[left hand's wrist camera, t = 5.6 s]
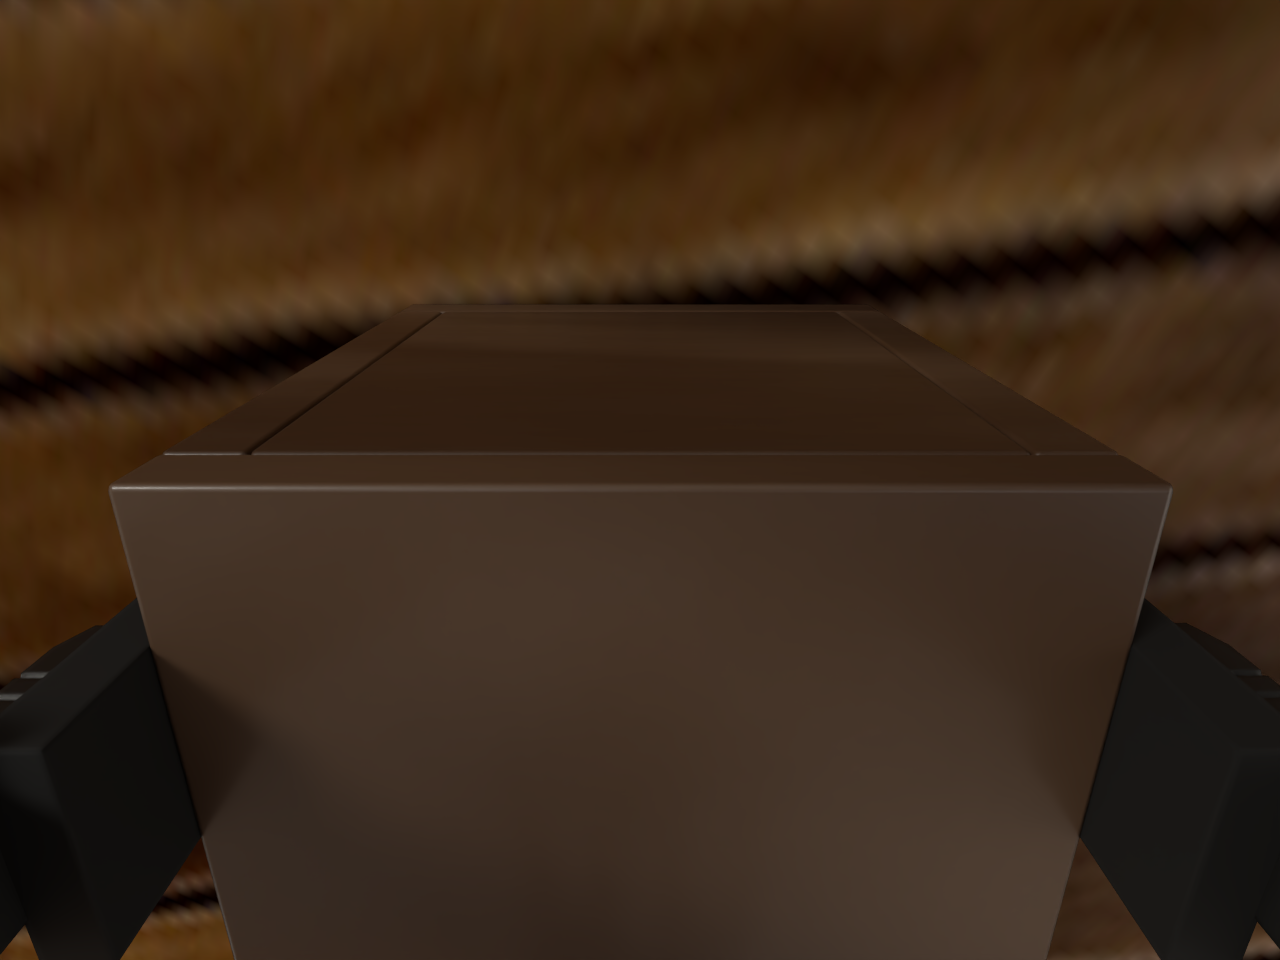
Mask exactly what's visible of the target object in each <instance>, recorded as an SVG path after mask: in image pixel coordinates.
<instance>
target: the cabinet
mask: <svg viewBox="0 0 1280 960" xmlns="http://www.w3.org/2000/svg"><path fill="white" fill-rule="evenodd" d="M1172 494H1173V489H1172V486H1171V484H1170V483H1168V482H1166V481H1164V480H1163V479H1161V478H1159V477H1158V476H1156V475H1154V474H1153V473H1151V472H1149V471H1148V470H1146V469H1144V468H1142V467H1141V466H1139V465H1137V464H1136V463H1134V462H1132V461H1131V460H1129V459H1127V458H1126V457H1123V456H1121V455H1118V454H1117V452H1116V451H1114V450H1112V449H1111V448H1109V447H1107V446H1106V445H1104V444H1102V443H1100V442H1099V441H1097V440H1095V439H1094V438H1092V437H1090V436H1089V435H1087V434H1085V433H1084V432H1082V431H1080V430H1079V429H1077V428H1075V427H1073V426H1072V425H1070V424H1068V423H1067V422H1065V421H1063V420H1062V419H1060V418H1058V417H1057V416H1055V415H1053V414H1051V413H1050V412H1048V411H1046V410H1045V409H1043V408H1041V407H1040V406H1038V405H1036V404H1035V403H1033V402H1031V401H1029V400H1028V399H1026V398H1024V397H1023V396H1021V395H1019V394H1018V393H1016V392H1014V391H1013V390H1011V389H1009V388H1007V387H1006V386H1004V385H1002V384H1001V383H999V382H997V381H996V380H994V379H992V378H991V377H989V376H987V375H985V374H984V373H982V372H980V371H979V370H977V369H975V368H974V367H972V366H970V365H969V364H967V363H965V362H964V361H962V360H960V359H958V358H957V357H955V356H953V355H952V354H950V353H948V352H947V351H945V350H943V349H942V348H940V347H938V346H936V345H935V344H933V343H931V342H930V341H928V340H926V339H925V338H923V337H921V336H920V335H918V334H916V333H914V332H913V331H911V330H909V329H908V328H906V327H904V326H903V325H901V324H899V323H898V322H896V321H894V320H892V319H891V318H889V317H887V316H886V315H884V314H882V313H880V312H879V311H878V310H876V309H874V308H872V307H871V306H869V305H411V306H410V307H408V308H406V309H405V310H403V311H401V312H399V313H398V314H396V315H394V316H393V317H391V318H389V319H387V320H386V321H384V322H382V323H381V324H379V325H377V326H376V327H374V328H372V329H371V330H369V331H367V332H365V333H364V334H362V335H360V336H359V337H357V338H355V339H354V340H352V341H350V342H349V343H347V344H345V345H344V346H342V347H340V348H338V349H337V350H335V351H333V352H332V353H330V354H328V355H327V356H325V357H323V358H322V359H320V360H318V361H316V362H315V363H313V364H311V365H310V366H308V367H306V368H305V369H303V370H301V371H300V372H298V373H296V374H294V375H293V376H291V377H289V378H288V379H286V380H284V381H283V382H281V383H279V384H278V385H276V386H274V387H273V388H271V389H269V390H267V391H266V392H264V393H262V394H261V395H259V396H257V397H256V398H254V399H252V400H251V401H249V402H247V403H245V404H244V405H242V406H240V407H239V408H237V409H235V410H234V411H232V412H230V413H229V414H227V415H225V416H223V417H222V418H220V419H218V420H217V421H215V422H213V423H212V424H210V425H208V426H207V427H205V428H203V429H202V430H200V431H198V432H196V433H195V434H193V435H191V436H190V437H188V438H186V439H185V440H183V441H181V442H180V443H178V444H176V445H174V446H173V447H171V448H169V449H168V450H166V451H164V453H163V455H160V456H157V457H155V458H154V459H152V460H150V461H149V462H147V463H145V464H143V465H142V466H140V467H138V468H137V469H135V470H133V471H132V472H130V473H128V474H127V475H125V476H123V477H122V478H120V479H118V480H117V481H115V482H113V483H111V484H110V486H109V496H110V499H111V503H112V507H113V511H114V514H115V518H116V522H117V525H118V529H119V533H120V536H121V540H122V544H123V548H124V551H125V555H126V559H127V562H128V566H129V570H130V574H131V577H132V581H133V585H134V588H135V592H136V596H137V600H138V603H139V607H140V611H141V614H142V618H143V622H144V626H145V629H146V633H147V637H148V640H149V644H150V648H151V652H152V655H153V659H154V663H155V666H156V670H157V674H158V678H159V681H160V685H161V689H162V692H163V696H164V700H165V704H166V707H167V711H168V715H169V718H170V722H171V726H172V730H173V733H174V737H175V741H176V744H177V748H178V752H179V756H180V759H181V763H182V767H183V770H184V774H185V778H186V782H187V785H188V789H189V793H190V796H191V800H192V804H193V808H194V811H195V815H196V819H197V822H198V826H199V830H200V834H201V837H202V841H203V845H204V848H205V852H206V856H207V860H208V863H209V867H210V871H211V874H212V878H213V882H214V886H215V889H216V893H217V897H218V900H219V904H220V908H221V912H222V915H223V919H224V923H225V926H226V930H227V934H228V937H229V941H230V945H231V949H232V952H233V956H234V960H1046V959H1047V955H1048V952H1049V948H1050V944H1051V941H1052V937H1053V933H1054V930H1055V926H1056V922H1057V918H1058V915H1059V911H1060V907H1061V904H1062V900H1063V896H1064V893H1065V889H1066V885H1067V881H1068V878H1069V874H1070V870H1071V867H1072V863H1073V859H1074V856H1075V852H1076V848H1077V845H1078V841H1079V837H1080V833H1081V830H1082V826H1083V822H1084V819H1085V815H1086V811H1087V808H1088V804H1089V800H1090V797H1091V793H1092V789H1093V785H1094V782H1095V778H1096V774H1097V771H1098V767H1099V763H1100V760H1101V756H1102V752H1103V748H1104V745H1105V741H1106V737H1107V734H1108V730H1109V726H1110V723H1111V719H1112V715H1113V712H1114V708H1115V704H1116V700H1117V697H1118V693H1119V689H1120V686H1121V682H1122V678H1123V675H1124V671H1125V667H1126V664H1127V660H1128V656H1129V652H1130V649H1131V645H1132V641H1133V638H1134V634H1135V630H1136V627H1137V623H1138V619H1139V615H1140V612H1141V608H1142V604H1143V601H1144V597H1145V593H1146V590H1147V586H1148V582H1149V579H1150V575H1151V571H1152V567H1153V564H1154V560H1155V556H1156V553H1157V549H1158V545H1159V542H1160V538H1161V534H1162V531H1163V527H1164V523H1165V519H1166V516H1167V512H1168V508H1169V505H1170V501H1171V497H1172Z"/></svg>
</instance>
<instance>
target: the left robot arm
mask: <svg viewBox="0 0 1280 960" xmlns="http://www.w3.org/2000/svg"><path fill="white" fill-rule="evenodd" d="M200 838H201V834H200V830H199V826H198V822H197V819H196V815H195V811H194V808H193V804H192V800H191V796H190V793H189V789H188V785H187V782H186V778H185V774H184V770H183V767H182V763H181V759H180V756H179V752H178V748H177V744H176V741H175V737H174V733H173V730H172V726H171V722H170V718H169V715H168V711H167V707H166V704H165V700H164V696H163V692H162V689H161V685H160V681H159V678H158V674H157V670H156V666H155V663H154V659H153V655H152V652H151V648H150V644H149V640H148V637H147V633H146V629H145V626H144V622H143V618H142V614H141V611H140V607H139V603H138V600H137V598H136V599H135V600H134V601H132V602H131V603H130V604H129V605H128V606H126V607H125V608H124V609H123V610H122V611H121V612H119V613H118V614H117V615H116V616H115V617H113V618H112V619H111V620H110V621H109V622H108V623H106V624H105V625H104V626H94V627H92V628H90V629H88V630H86V631H84V632H82V633H80V634H78V635H76V636H74V637H72V638H71V639H69V640H67V641H65V642H63V643H61V644H59V645H57V646H55V647H53V648H52V649H51V650H49V651H48V652H47V653H46V654H44V655H43V656H42V657H41V658H39V659H38V660H37V661H36V662H35V663H33V664H32V665H31V666H30V667H28V668H27V669H26V670H25V671H23V672H22V673H21V678H20V679H14V680H12V681H11V682H10V683H9V684H7V685H6V686H5V687H4V688H2V689H1V690H0V954H1V953H2V952H3V951H4V949H5V948H6V947H7V946H8V944H9V943H10V942H11V941H12V940H13V938H14V937H15V936H16V935H17V933H18V932H19V931H20V930H21V929H22V927H23V926H24V925H26V928H27V930H28V933H29V935H30V938H31V941H32V943H33V946H34V948H35V951H36V953H37V956H38V958H39V960H120V959H121V957H122V956H123V954H124V953H125V951H126V950H127V948H128V947H129V945H130V944H131V942H132V941H133V939H134V938H135V936H136V935H137V933H138V932H139V930H140V928H141V927H142V925H143V924H144V922H145V921H146V919H147V918H148V916H149V915H150V913H151V912H152V910H153V909H154V907H155V906H156V904H157V903H158V901H159V900H160V898H161V897H162V895H163V894H164V892H165V891H166V889H167V888H168V886H169V885H170V883H171V881H172V880H173V878H174V877H175V875H176V874H177V872H178V871H179V869H180V868H181V866H182V865H183V863H184V862H185V860H186V859H187V857H188V856H189V854H190V853H191V851H192V850H193V848H194V847H195V845H196V844H197V842H198V841H199V839H200ZM1080 838H1081V839H1082V841H1083V842H1084V844H1085V845H1086V847H1087V848H1088V850H1089V851H1090V853H1091V854H1092V856H1093V857H1094V859H1095V860H1096V862H1097V864H1098V865H1099V867H1100V868H1101V870H1102V871H1103V873H1104V874H1105V876H1106V877H1107V879H1108V880H1109V882H1110V883H1111V885H1112V886H1113V888H1114V889H1115V891H1116V892H1117V894H1118V895H1119V897H1120V898H1121V900H1122V901H1123V903H1124V904H1125V906H1126V907H1127V909H1128V910H1129V912H1130V914H1131V915H1132V917H1133V918H1134V920H1135V921H1136V923H1137V924H1138V926H1139V927H1140V929H1141V930H1142V932H1143V933H1144V935H1145V936H1146V938H1147V939H1148V941H1149V942H1150V944H1151V945H1152V947H1153V948H1154V950H1155V951H1156V953H1157V954H1158V956H1159V957H1160V959H1161V960H1242V959H1243V956H1244V954H1245V951H1246V949H1247V946H1248V944H1249V941H1250V938H1251V936H1252V933H1253V931H1254V928H1255V926H1256V923H1257V922H1258V923H1259V924H1260V925H1261V927H1262V928H1263V929H1264V930H1265V932H1266V933H1267V934H1268V935H1269V936H1270V938H1271V939H1272V940H1273V941H1274V942H1275V944H1276V945H1277V946H1278V947H1279V949H1280V686H1279V685H1278V684H1277V683H1276V682H1274V681H1273V680H1272V679H1271V678H1270V677H1268V676H1262V675H1261V670H1260V669H1258V668H1257V667H1256V666H1255V665H1253V664H1252V663H1251V662H1250V661H1248V660H1247V659H1246V658H1245V657H1243V656H1242V655H1241V654H1240V653H1238V652H1237V651H1236V650H1235V649H1233V648H1232V647H1231V646H1230V645H1228V644H1226V643H1224V642H1222V641H1220V640H1218V639H1216V638H1215V637H1213V636H1211V635H1209V634H1207V633H1205V632H1203V631H1201V630H1199V629H1197V628H1195V627H1193V626H1191V625H1189V624H1187V623H1173V622H1172V621H1171V620H1170V619H1169V618H1167V617H1166V616H1165V615H1164V614H1163V613H1162V612H1160V611H1159V610H1158V609H1157V608H1156V607H1154V606H1153V605H1152V604H1151V603H1150V602H1149V601H1147V600H1146V599H1145V598H1144V601H1143V604H1142V608H1141V612H1140V615H1139V619H1138V623H1137V627H1136V630H1135V634H1134V638H1133V641H1132V645H1131V649H1130V652H1129V656H1128V660H1127V664H1126V667H1125V671H1124V675H1123V678H1122V682H1121V686H1120V689H1119V693H1118V697H1117V700H1116V704H1115V708H1114V712H1113V715H1112V719H1111V723H1110V726H1109V730H1108V734H1107V737H1106V741H1105V745H1104V748H1103V752H1102V756H1101V760H1100V763H1099V767H1098V771H1097V774H1096V778H1095V782H1094V785H1093V789H1092V793H1091V797H1090V800H1089V804H1088V808H1087V811H1086V815H1085V819H1084V822H1083V826H1082V830H1081V833H1080Z"/></svg>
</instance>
